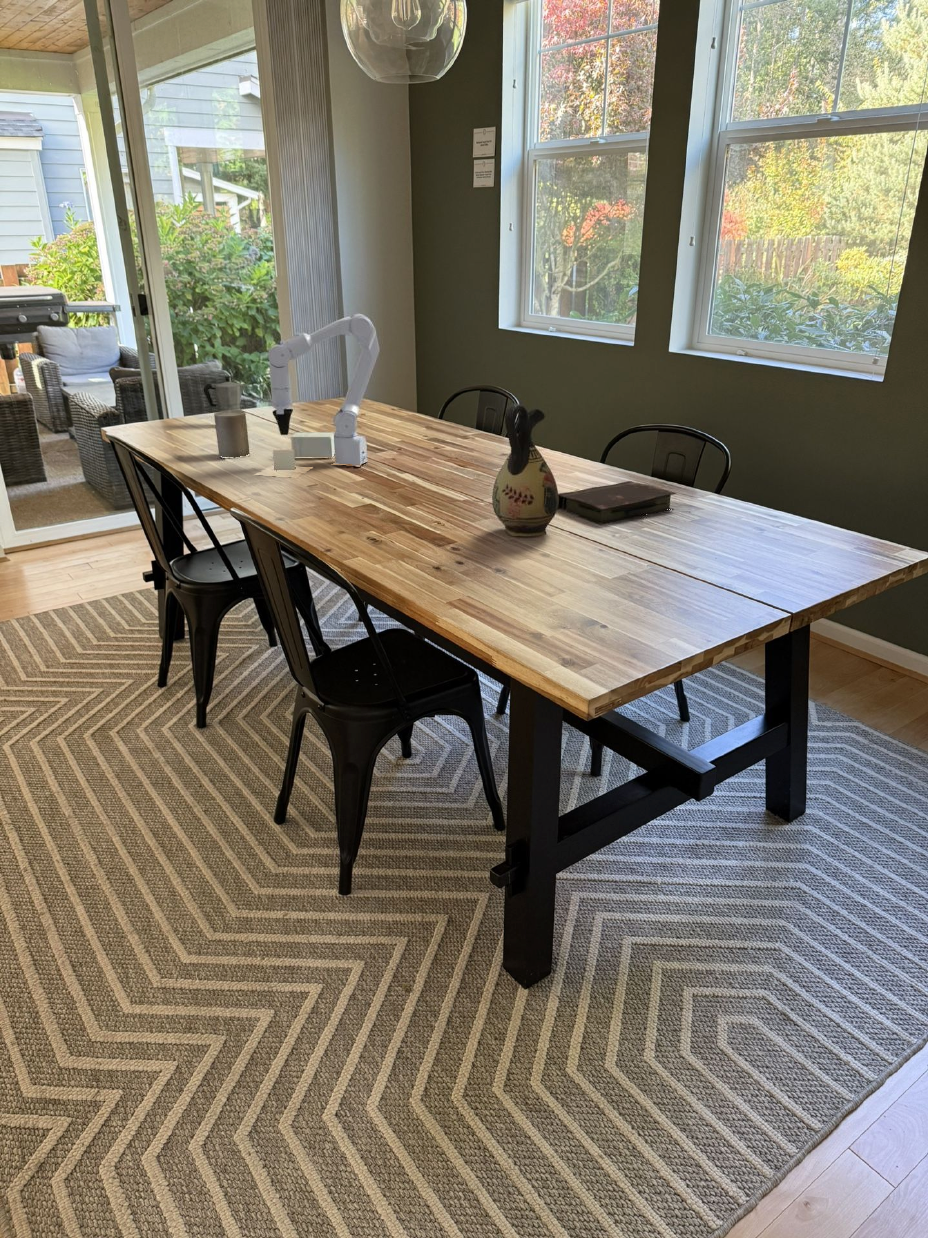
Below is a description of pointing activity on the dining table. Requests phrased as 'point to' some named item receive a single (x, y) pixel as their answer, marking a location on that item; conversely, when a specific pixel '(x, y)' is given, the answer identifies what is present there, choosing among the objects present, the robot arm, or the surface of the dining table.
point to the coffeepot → (226, 394)
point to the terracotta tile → (284, 460)
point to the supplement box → (313, 444)
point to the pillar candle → (232, 433)
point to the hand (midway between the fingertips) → (284, 434)
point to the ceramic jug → (524, 479)
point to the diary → (616, 502)
